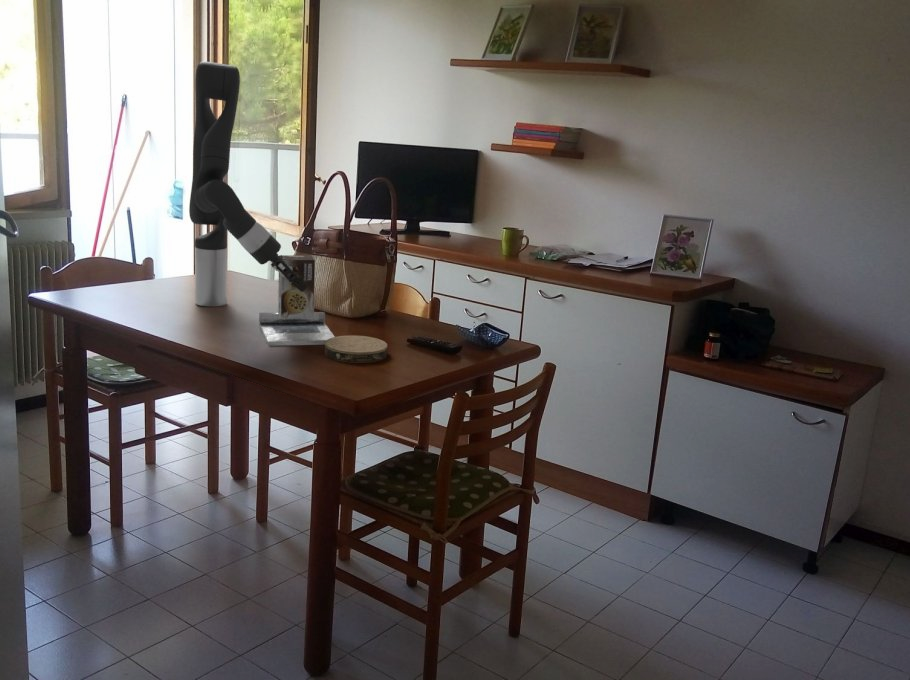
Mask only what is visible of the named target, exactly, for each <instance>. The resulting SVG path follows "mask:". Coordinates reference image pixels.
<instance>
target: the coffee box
mask: <svg viewBox="0 0 910 680" xmlns="http://www.w3.org/2000/svg"><path fill="white" fill-rule="evenodd" d="M278 255H279V254H278ZM281 255H282V254H281ZM279 256H280V255H279ZM282 256H283V257H284V258H285V259H281V260H282V261H284V262H285V264H286V265H287V266H288V267H290V266H291V267H292V268H293V272H294V273H295V274H297V275H298V277H299V278H300V279H301V280H302V281H303V282H304V283H305V284H306V286H307V288H306V289H305V290H304V291H303V292H301V291H300V290H299V289H298V288H297V287H296V286H295V285H294V284H293V283H290V282H289V280H288V279H287V278H286V277H283V276H282V275H281V274H280V273H279V272H278V292H277V293H278V294H277V295H278V296H277V298H278V299H277V301H278V304H277V305H278V307H277V313H279V316H280V318H314V312H315V282H316V281H315V278H316V277H315V276H316V275H315V273H316V271H315V270H316V259H315V258H314V257H313V255H289V254H288V255H286V254H285V255H284V254H283V255H282ZM280 258H281V257H280ZM292 275H294V274H293V273H292V272H290V273H289V274H288V275H287V276H288V277H289V278H290V277H291V276H292Z"/></svg>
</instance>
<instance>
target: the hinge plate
mask: <svg viewBox="0 0 910 680" xmlns="http://www.w3.org/2000/svg"><path fill="white" fill-rule="evenodd" d="M325 322H326V313H325V312H323V311H319V312H318V311H317V312H316V311H314V318H280V316H279V313H278V312H259V313H258V328H259V330H260V332H261V334H262V335H263V338H264V340H265V342H266V345H267V347H272V346H273V347H275V346H276V347H277V346H280V347H281V346H282V347H283V346H312V345H313V346H318V345H320V346H323V345H324V346H325V341H326V340H328V339H330V338H333V337H336V336H335V335H334V334H333V331H331V330H330V328H329V327H328V325H326V323H325Z"/></svg>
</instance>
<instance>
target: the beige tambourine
mask: <svg viewBox="0 0 910 680" xmlns="http://www.w3.org/2000/svg"><path fill="white" fill-rule="evenodd" d="M387 354H388V343H387V342H386V341H385V340H382V339H379V338H376V337H373V336H367V335H339V336H335V337H333V338H330V339H328V340H326V341H325V345H324V355H325V356H326V357H327V358H329V359H332V360H335V361H338V362H344V363H345V362H346V363H351V364H352V363H353V364H356V363H357V364H363V363H365V364H367V363H374V362H375V363H376V362H379V361H382V360H384V359H386V358H387V356H388V355H387Z"/></svg>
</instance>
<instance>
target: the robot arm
mask: <svg viewBox="0 0 910 680" xmlns="http://www.w3.org/2000/svg"><path fill="white" fill-rule="evenodd" d="M194 82H195V83H194V85H195V86H194V88H195V123H194V124H195V125H194V132H193V133H194V134H193V135H194V136H193V147H192V149H193V150H192V182H191V190H190V197H189V208H188V211H189V212H188V213H189V218H190V221H191V222H192V223H193V224H195V225H202V226H203V225H205V226H214V229H212V230H211V231H209V232H207V233H204V234H202V235H199V236H197V237H196V238H195V239H194V267H195V268H194V277H195V279H194V281H195V282H194V283H195V288H194V292H195V297H194V298H195V299H194V301H195V302H194V303H195V305H198V306H201V307H221V306H222V307H223V306H225V305H227V303H228V301H227V300H228V232H229V233H230V234H231V235H232V236H233V237H234V238H235V239H236V241H238V243H239V244H240V245H241V247H243V249H244V250H246V252H247V253H248V254H249V255H250V256H252V258H253V259H254V260H255V261H257V263H259V264H260V265H265V264H267V263H268V262H271V264H270V266H271V267H272V268H273V269H274V270H275V271H277V272H278V274H279V273H280V274H281V275H282V276H283V277H286V278H287V279H288V280H289V282H290V283H293V284H294V285H295V286H296V287H297V288H298V289H299V290H300V291H301V292H303V291H304V290H305V289H306V288H307V286H306V284H305V283H304V282H303V281H302V280H301V279H300V278H299V277H298V275H297V274H295V273H294V272H293V268H292V267H291V266H290V267H288V266H287V265H286V264H285V262H284V261H282V260H281V259H285V258H284V257H283V256H282V254H281V255H280V256H279V254H278V253H279V252H280V250H281V248H282V245H281V243H280V242H279V241H278V240H277V239H276V238H275V237H274V236H273V235H272V234H271V233H270V232H269V231H268V230H267V229H266V228H265V227H264V226H263V225H262V224H261V223H260V222H258V221H257V220H256V219H255V218H254V217H253V216H252V215H251V214H250V212H248V211H247V210H246V209H245V207H244V205H243V204H242V201H241V200H240V199H239V197H238V196H237V194H236V192H235V190H234V189H233V188H232V187H231V186H230V185H229V184H228V183H226V182H225V181H223V180H224V178H225V177H226V176H227V174H228V173H229V169H230V157H231V155H230V154H231V144H232V143H231V142H232V141H231V140H232V135H233V129H234V125H235V120H236V114H237V109H238V108H237V107H238V103H239V94H240V86H241V85H240V84H241V77H240V70H239V69H238V67H237V66H235V65H231V64H225V63H221V62H220V63H219V62H212V61H206V60H205V61H199V62H198V64H197V66H196V71H195V81H194ZM209 100H216V101H222V102H225V103H224V104H225V105H224V106H223V109H222V112H221V114H220V115H219V116H218V118H217V117H216V115H215V114H214V112H213V110H212V107H211V104H210V101H209ZM280 257H281V258H280ZM290 272H292V273H293V274H294V275H292V276H291V277H290V278H289V277H288V276H287V275H288V274H289V273H290Z"/></svg>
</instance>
